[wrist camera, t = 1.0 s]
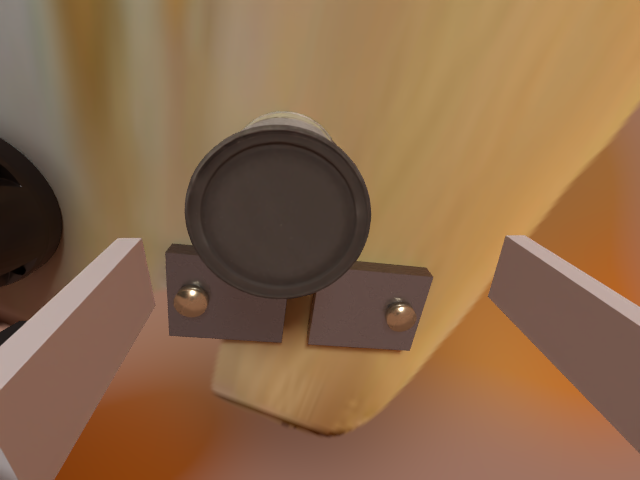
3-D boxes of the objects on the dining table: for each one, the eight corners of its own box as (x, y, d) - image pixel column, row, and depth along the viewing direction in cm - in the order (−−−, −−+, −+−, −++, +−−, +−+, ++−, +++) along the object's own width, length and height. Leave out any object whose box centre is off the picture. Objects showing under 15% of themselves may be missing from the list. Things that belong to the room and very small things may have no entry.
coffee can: (362, 161, 32) (409, 210, 19) (293, 238, 34) (293, 327, 22) (275, 82, 28) (261, 77, 16) (207, 174, 31) (146, 234, 18)
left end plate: (175, 323, 38) (166, 342, 35) (172, 243, 34) (161, 257, 31) (281, 330, 39) (281, 348, 36) (291, 254, 35) (291, 268, 32)
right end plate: (307, 332, 39) (308, 350, 37) (319, 257, 35) (321, 271, 33) (404, 339, 41) (412, 356, 38) (426, 267, 37) (436, 282, 34)
